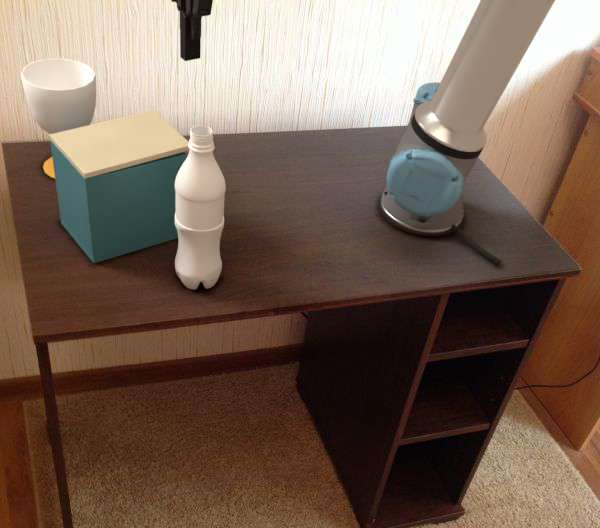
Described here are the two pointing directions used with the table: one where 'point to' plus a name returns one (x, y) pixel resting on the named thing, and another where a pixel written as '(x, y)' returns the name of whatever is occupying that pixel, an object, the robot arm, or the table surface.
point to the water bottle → (199, 212)
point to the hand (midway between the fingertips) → (190, 57)
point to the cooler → (118, 205)
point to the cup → (59, 96)
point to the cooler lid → (119, 143)
